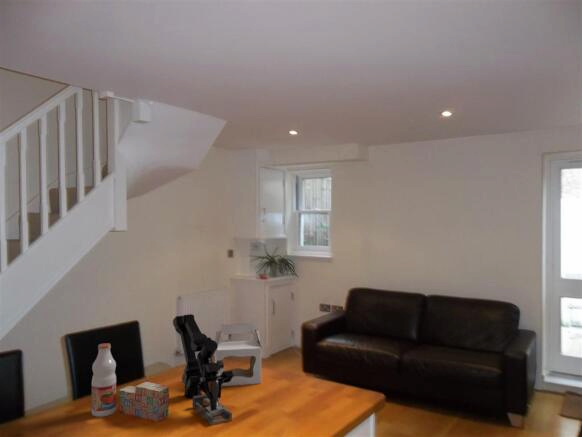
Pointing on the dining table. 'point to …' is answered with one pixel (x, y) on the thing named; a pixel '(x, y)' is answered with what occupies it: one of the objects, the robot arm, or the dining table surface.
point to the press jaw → (215, 400)
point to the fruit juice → (103, 383)
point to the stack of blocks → (145, 401)
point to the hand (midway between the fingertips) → (215, 398)
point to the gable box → (240, 354)
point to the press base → (200, 405)
